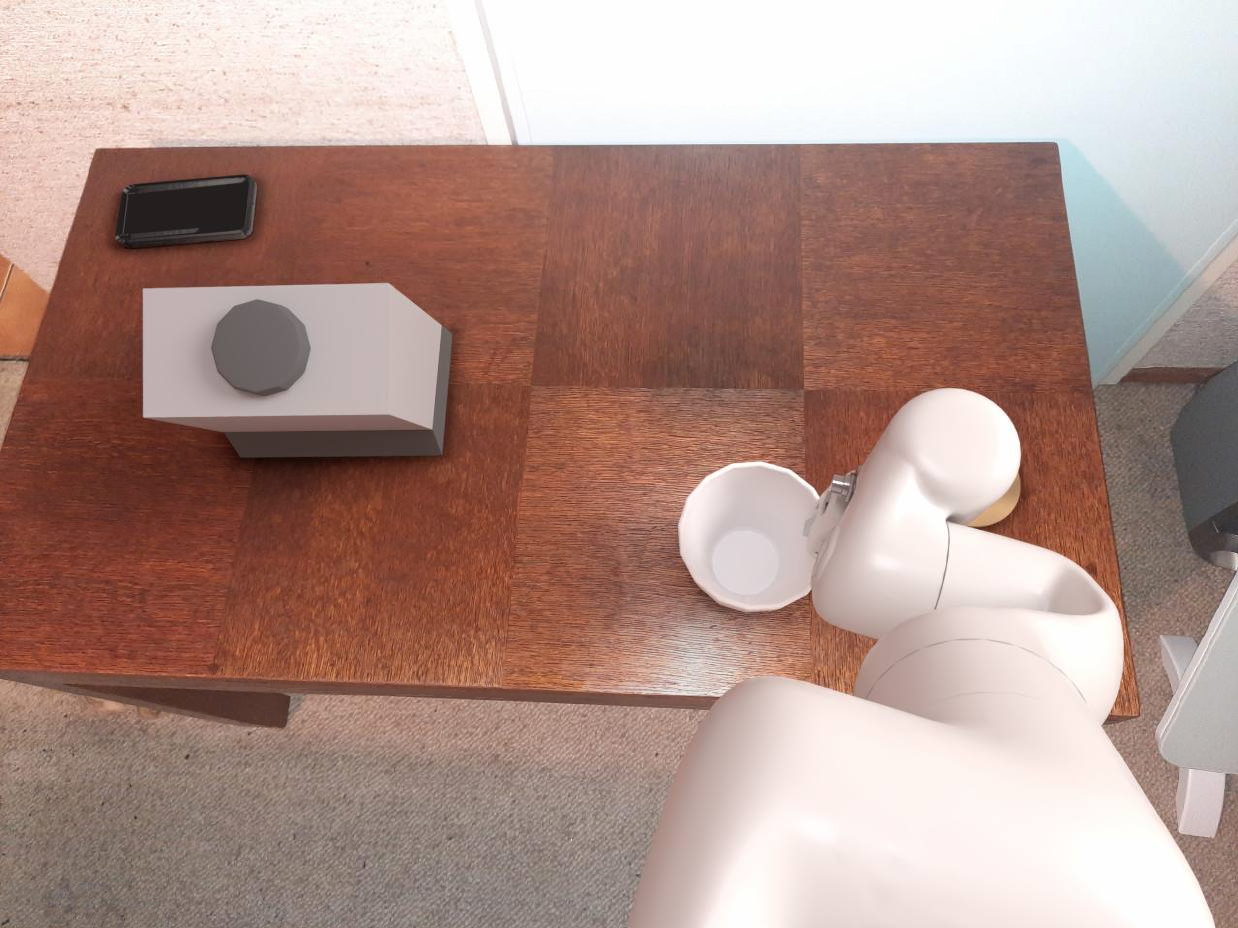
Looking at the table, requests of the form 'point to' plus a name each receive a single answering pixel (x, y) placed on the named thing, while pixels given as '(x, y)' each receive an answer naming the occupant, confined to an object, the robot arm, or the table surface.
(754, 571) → the cup
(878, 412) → the table surface
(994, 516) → the coaster
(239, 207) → the phone
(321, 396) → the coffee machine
